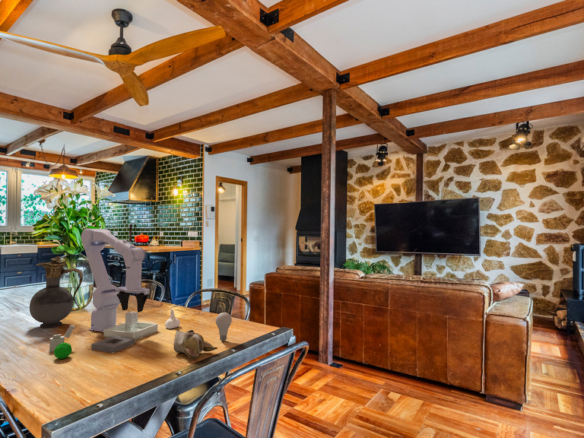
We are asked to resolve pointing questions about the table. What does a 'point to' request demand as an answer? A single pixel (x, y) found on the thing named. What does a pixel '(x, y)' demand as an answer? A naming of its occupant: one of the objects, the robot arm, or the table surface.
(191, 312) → the table surface
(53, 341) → the lighter
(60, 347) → the polyhedron
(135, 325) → the pin
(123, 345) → the collar
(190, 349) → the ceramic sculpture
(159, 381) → the table surface
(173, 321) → the garlic bulb
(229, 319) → the lightbulb
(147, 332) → the tray
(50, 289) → the pitcher
